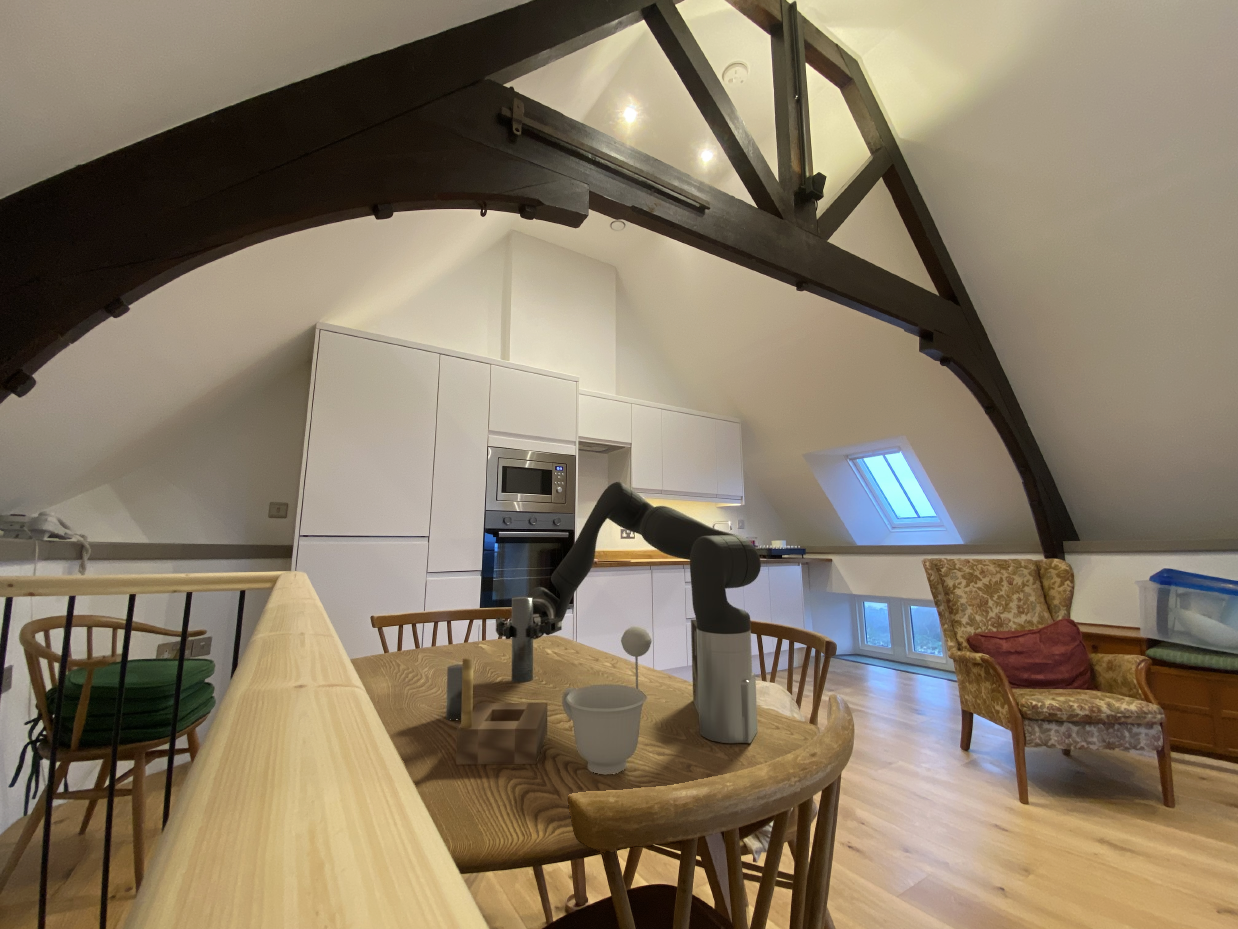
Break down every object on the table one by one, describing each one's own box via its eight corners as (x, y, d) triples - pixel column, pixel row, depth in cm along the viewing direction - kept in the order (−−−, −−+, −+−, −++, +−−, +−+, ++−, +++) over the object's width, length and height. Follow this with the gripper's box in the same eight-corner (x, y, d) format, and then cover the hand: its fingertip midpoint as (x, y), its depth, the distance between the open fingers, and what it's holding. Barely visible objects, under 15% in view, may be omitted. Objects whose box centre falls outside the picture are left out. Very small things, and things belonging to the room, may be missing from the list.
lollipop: (617, 707, 105) (617, 628, 106) (626, 698, 110) (625, 623, 112) (648, 710, 103) (647, 629, 105) (655, 700, 108) (654, 624, 110)
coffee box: (732, 715, 100) (729, 626, 101) (697, 715, 100) (695, 626, 102) (724, 699, 109) (721, 617, 111) (692, 699, 109) (690, 618, 111)
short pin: (472, 714, 101) (473, 665, 102) (458, 721, 98) (459, 670, 99) (456, 712, 103) (457, 663, 104) (441, 718, 100) (442, 668, 101)
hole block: (547, 733, 92) (547, 642, 94) (536, 763, 80) (536, 659, 82) (477, 733, 92) (479, 643, 94) (455, 764, 80) (458, 660, 82)
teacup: (590, 739, 89) (589, 676, 90) (664, 763, 80) (662, 693, 81) (535, 764, 80) (535, 694, 81) (611, 795, 71) (611, 715, 72)
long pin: (537, 678, 102) (537, 597, 104) (525, 683, 98) (525, 599, 100) (519, 676, 103) (520, 596, 105) (507, 681, 100) (507, 599, 102)
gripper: (501, 600, 117) (481, 613, 100) (567, 599, 117) (558, 611, 99) (501, 636, 116) (481, 654, 99) (567, 635, 116) (558, 653, 99)
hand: (519, 633), depth 99 cm, fingers closed on long pin, 4 cm apart
